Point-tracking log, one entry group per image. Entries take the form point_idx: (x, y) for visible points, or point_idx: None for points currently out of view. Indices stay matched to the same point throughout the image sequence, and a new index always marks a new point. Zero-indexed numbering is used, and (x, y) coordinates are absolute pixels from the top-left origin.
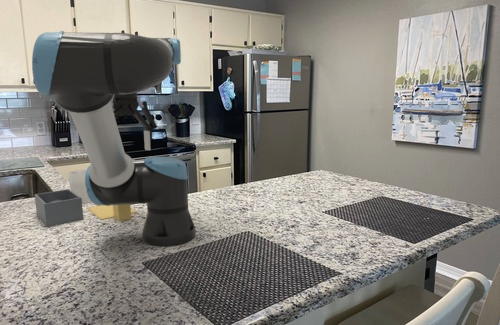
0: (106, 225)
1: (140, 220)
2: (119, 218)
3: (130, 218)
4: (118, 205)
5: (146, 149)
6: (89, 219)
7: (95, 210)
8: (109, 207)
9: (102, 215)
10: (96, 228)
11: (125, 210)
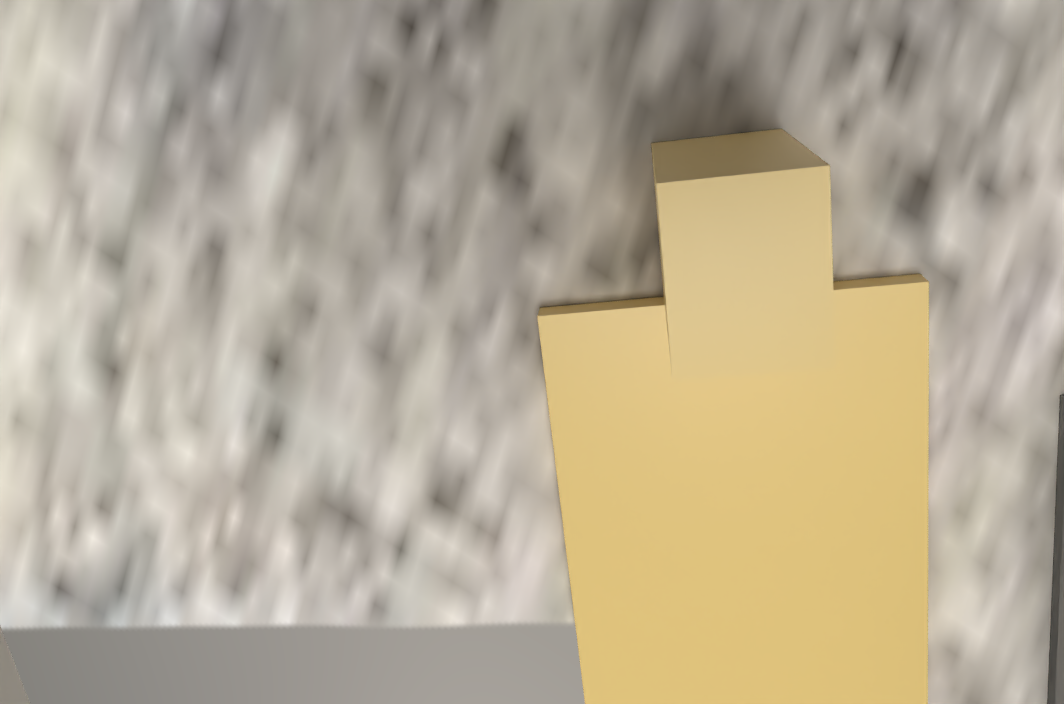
0: (917, 130)
1: (570, 88)
2: (784, 135)
3: (659, 145)
4: (809, 155)
5: (11, 689)
6: (993, 417)
7: (882, 590)
8: (734, 607)
9: (879, 391)
10: (1034, 92)
11: (716, 152)
